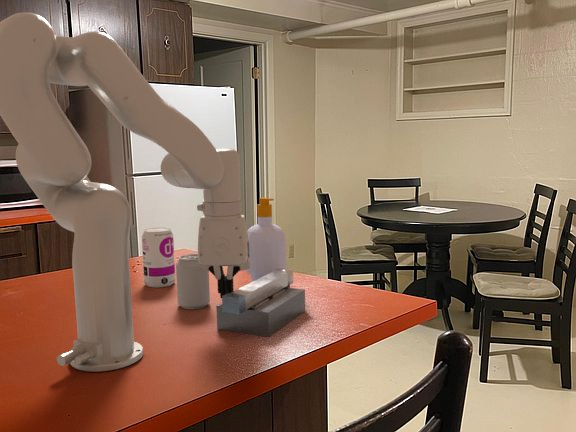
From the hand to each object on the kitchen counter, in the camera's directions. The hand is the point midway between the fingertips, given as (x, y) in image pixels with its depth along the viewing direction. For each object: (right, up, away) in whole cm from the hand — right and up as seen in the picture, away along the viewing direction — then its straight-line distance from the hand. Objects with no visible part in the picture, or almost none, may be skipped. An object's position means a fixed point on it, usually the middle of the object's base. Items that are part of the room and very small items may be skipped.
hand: (226, 296), depth 118 cm
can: (-9, -5, +15) cm, 18 cm away
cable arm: (+7, 0, +3) cm, 8 cm away
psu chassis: (+8, -5, +6) cm, 12 cm away
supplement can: (-22, -2, +35) cm, 41 cm away
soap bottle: (+8, -3, +25) cm, 26 cm away
